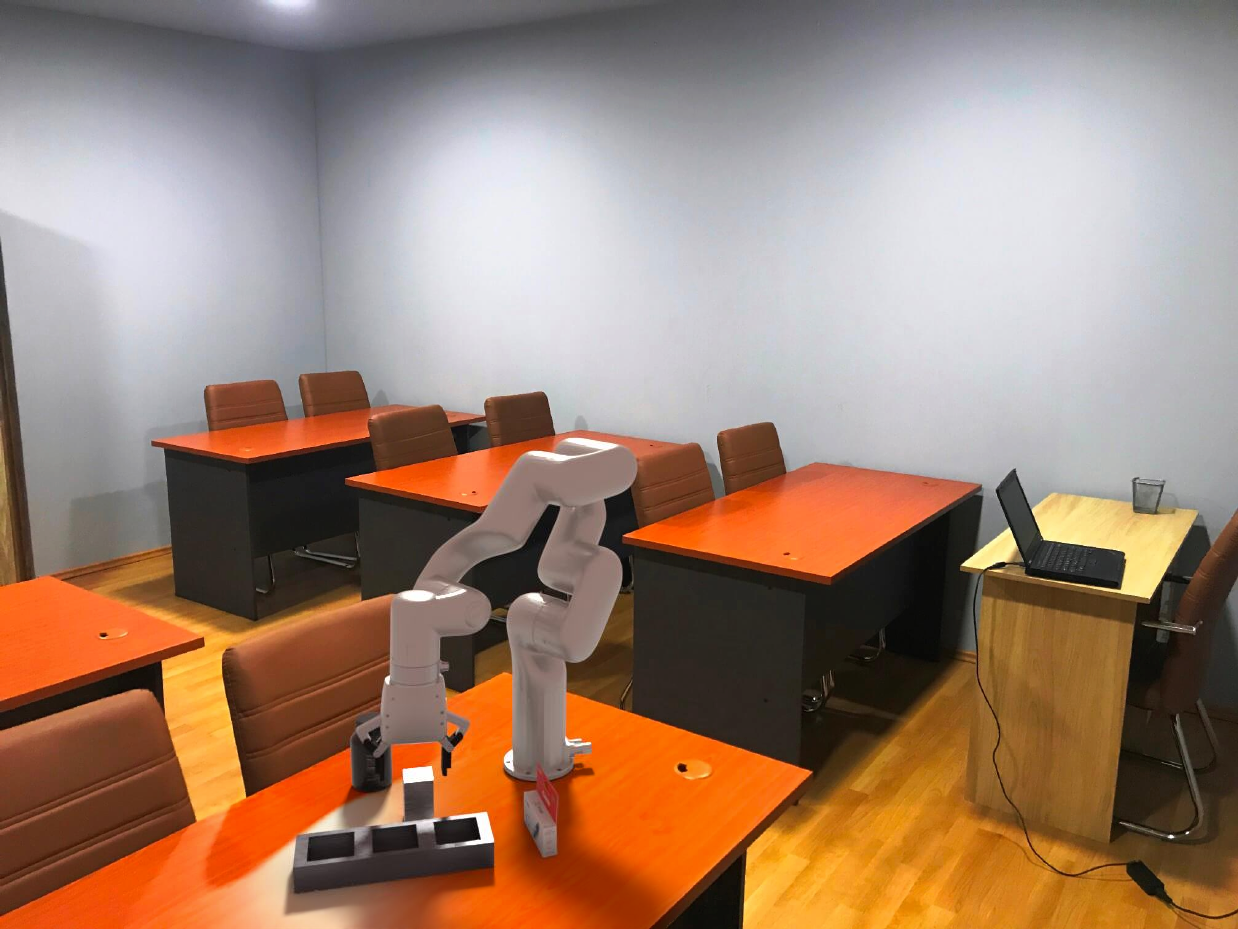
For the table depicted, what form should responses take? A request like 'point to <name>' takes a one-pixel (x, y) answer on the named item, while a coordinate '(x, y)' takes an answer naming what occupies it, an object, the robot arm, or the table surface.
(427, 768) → the light grey block
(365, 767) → the supplement bottle
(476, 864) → the dark grey compartment tray
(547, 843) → the ink cartridge box
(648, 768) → the table surface
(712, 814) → the table surface
